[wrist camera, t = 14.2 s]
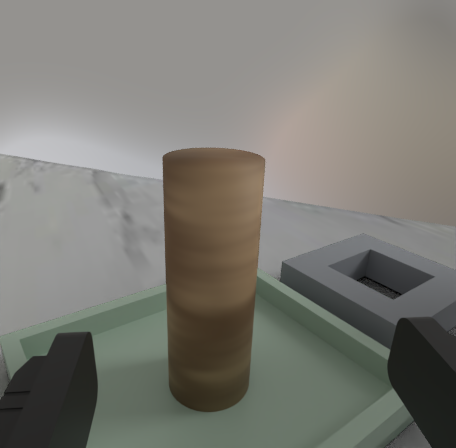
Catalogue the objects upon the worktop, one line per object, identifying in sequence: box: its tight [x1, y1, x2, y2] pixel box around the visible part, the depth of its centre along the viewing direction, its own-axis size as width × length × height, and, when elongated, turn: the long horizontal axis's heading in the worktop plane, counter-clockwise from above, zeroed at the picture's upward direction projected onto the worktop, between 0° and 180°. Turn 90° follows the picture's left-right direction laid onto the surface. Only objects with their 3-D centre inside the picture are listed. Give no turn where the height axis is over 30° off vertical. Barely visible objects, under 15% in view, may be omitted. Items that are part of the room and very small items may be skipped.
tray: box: [0, 268, 414, 448], centre depth 24 cm, size 18×20×2 cm
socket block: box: [280, 233, 456, 350], centre depth 34 cm, size 12×12×3 cm
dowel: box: [163, 148, 265, 412], centre depth 22 cm, size 5×5×14 cm
